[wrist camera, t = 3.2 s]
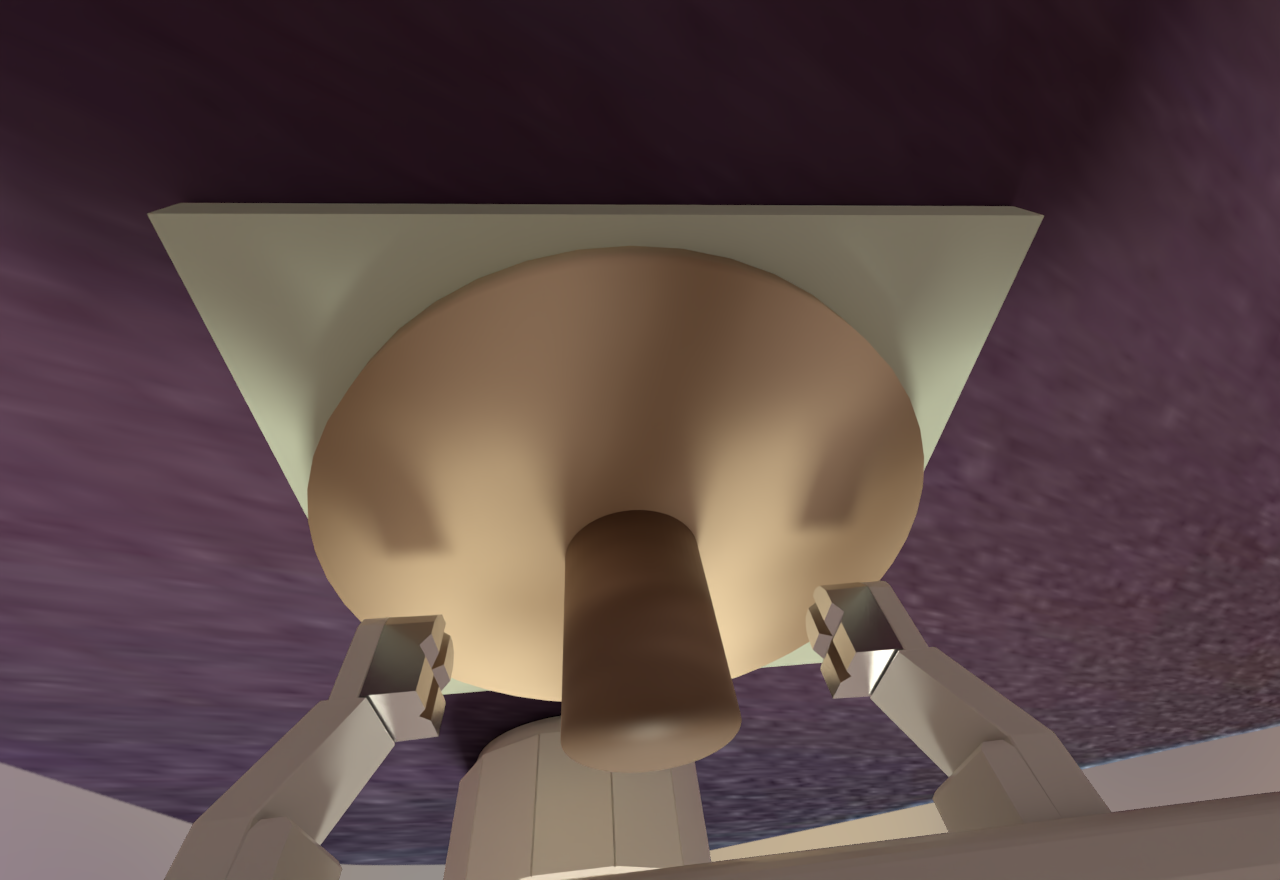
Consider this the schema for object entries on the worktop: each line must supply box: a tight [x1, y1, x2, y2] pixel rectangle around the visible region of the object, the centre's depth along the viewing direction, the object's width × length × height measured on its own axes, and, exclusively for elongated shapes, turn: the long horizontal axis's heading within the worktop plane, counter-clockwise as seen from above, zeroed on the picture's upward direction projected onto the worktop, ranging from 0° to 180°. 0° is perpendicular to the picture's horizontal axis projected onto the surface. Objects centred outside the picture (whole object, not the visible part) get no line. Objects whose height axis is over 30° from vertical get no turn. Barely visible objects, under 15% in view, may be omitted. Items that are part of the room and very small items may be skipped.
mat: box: [147, 203, 1044, 695], centre depth 13 cm, size 15×15×1 cm
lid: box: [307, 246, 924, 773], centre depth 11 cm, size 14×14×5 cm
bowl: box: [443, 716, 711, 880], centre depth 21 cm, size 10×10×5 cm
